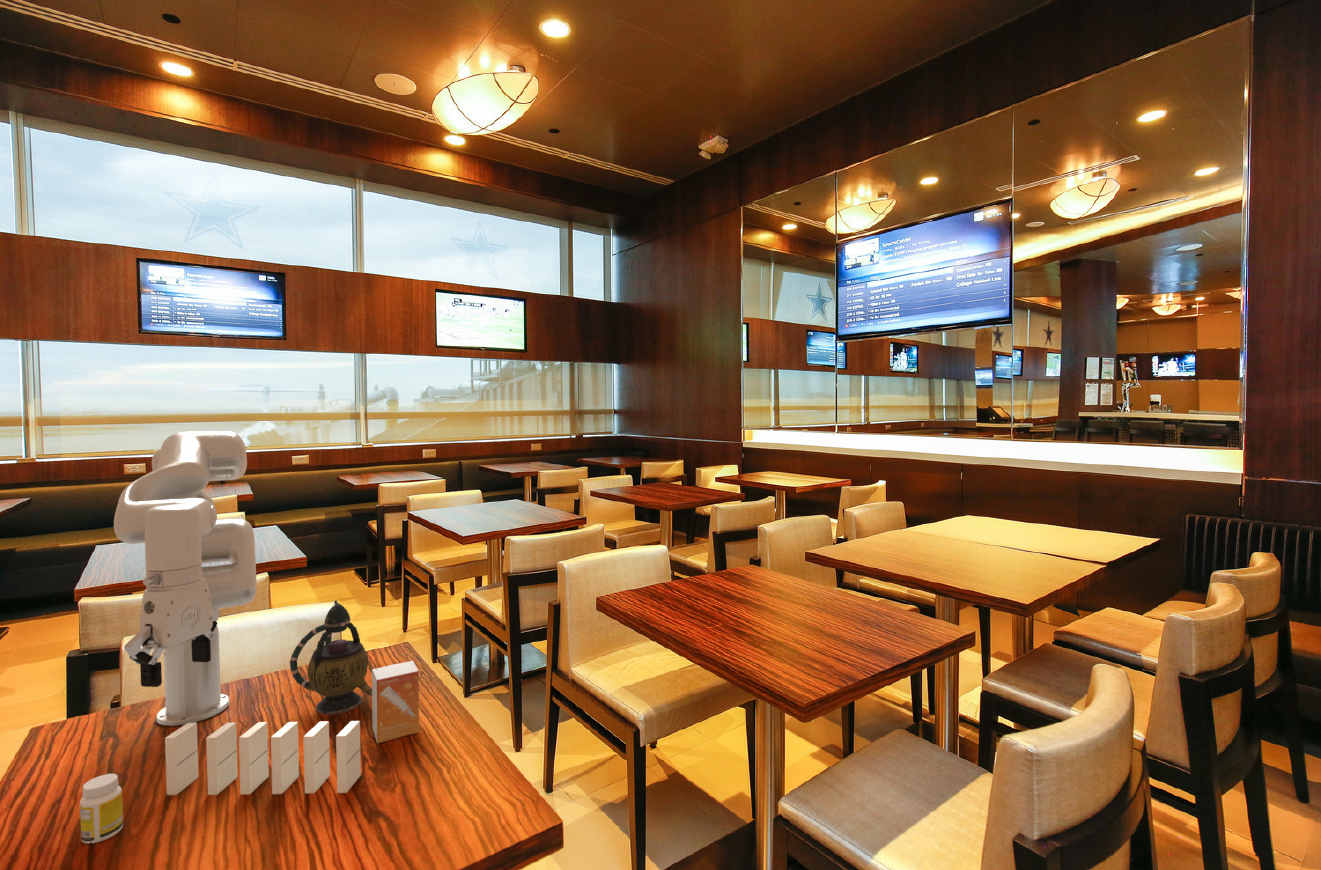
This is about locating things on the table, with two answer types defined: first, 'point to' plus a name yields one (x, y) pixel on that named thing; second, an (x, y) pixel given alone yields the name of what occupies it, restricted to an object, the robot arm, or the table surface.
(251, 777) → the domino
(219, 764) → the domino
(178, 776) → the domino
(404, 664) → the small box
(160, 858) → the table surface
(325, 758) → the domino
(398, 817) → the table surface
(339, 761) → the domino
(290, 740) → the domino
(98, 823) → the supplement bottle
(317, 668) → the teapot
